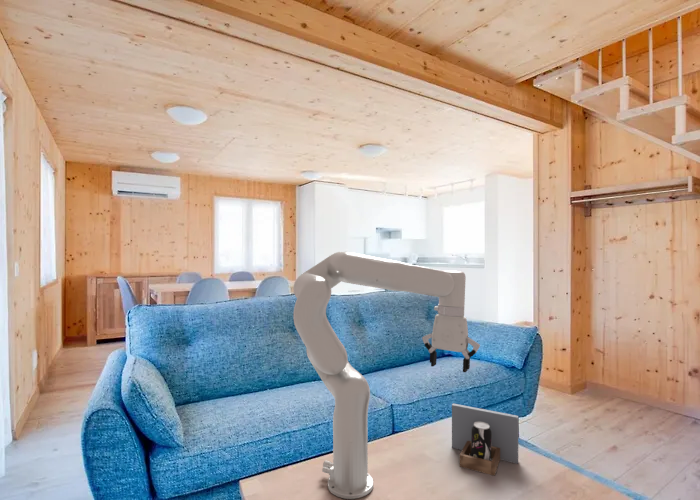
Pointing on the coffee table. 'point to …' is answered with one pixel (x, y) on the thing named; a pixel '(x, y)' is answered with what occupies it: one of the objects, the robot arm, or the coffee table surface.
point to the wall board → (500, 425)
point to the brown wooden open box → (480, 460)
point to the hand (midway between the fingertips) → (449, 368)
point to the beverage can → (481, 441)
